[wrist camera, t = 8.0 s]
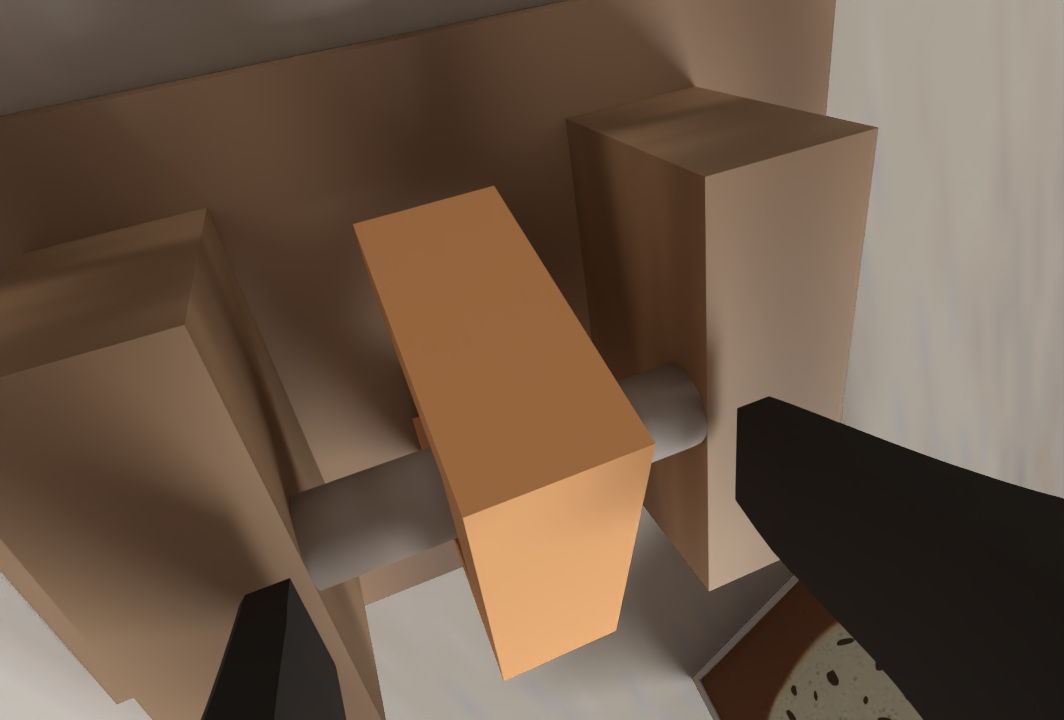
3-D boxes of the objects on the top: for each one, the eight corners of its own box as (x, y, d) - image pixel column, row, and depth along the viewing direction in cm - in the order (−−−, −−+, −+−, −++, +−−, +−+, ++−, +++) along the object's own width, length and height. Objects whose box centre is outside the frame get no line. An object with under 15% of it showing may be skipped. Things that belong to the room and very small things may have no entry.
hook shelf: (121, 676, 17) (72, 945, 12) (-295, 176, 10) (-787, 351, 5) (781, 419, 21) (933, 543, 17) (813, -51, 14) (1090, -68, 10)
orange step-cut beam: (422, 453, 16) (503, 680, 13) (352, 224, 11) (462, 518, 7) (515, 420, 16) (616, 630, 13) (494, 185, 11) (656, 443, 8)
